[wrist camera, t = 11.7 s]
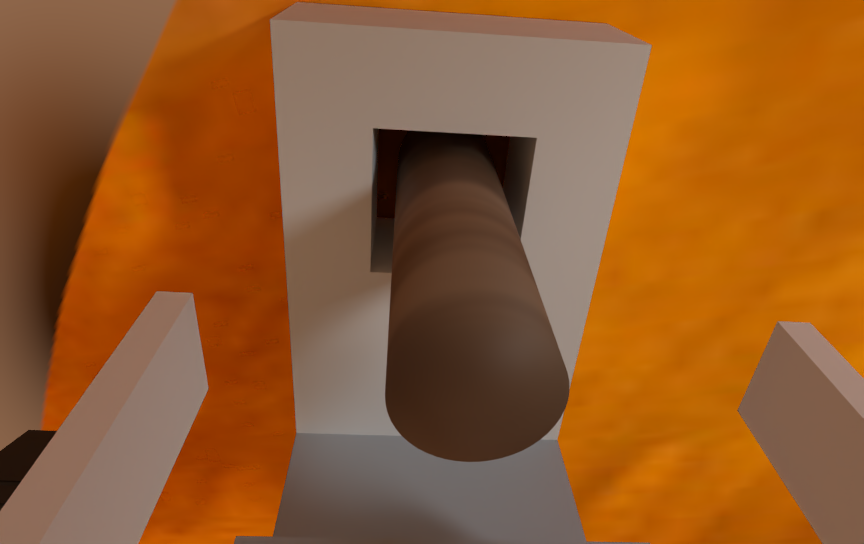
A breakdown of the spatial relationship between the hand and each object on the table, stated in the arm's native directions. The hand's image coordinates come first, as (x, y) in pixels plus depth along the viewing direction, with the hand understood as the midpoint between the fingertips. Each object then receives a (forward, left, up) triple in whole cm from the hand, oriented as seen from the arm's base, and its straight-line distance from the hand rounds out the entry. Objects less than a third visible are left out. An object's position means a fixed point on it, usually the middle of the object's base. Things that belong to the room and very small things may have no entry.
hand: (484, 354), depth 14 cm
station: (+3, 0, -14) cm, 14 cm away
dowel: (0, 0, -14) cm, 14 cm away
